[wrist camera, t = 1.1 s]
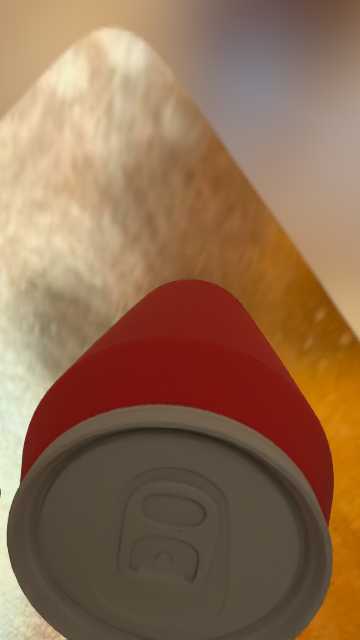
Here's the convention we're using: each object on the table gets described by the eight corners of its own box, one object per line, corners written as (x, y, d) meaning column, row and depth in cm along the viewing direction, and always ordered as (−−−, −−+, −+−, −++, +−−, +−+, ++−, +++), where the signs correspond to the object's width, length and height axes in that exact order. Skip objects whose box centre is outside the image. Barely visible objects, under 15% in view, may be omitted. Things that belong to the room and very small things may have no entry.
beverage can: (122, 383, 17) (-33, 662, 6) (136, 267, 16) (-43, 333, 4) (238, 404, 17) (314, 733, 6) (265, 288, 16) (454, 422, 4)
